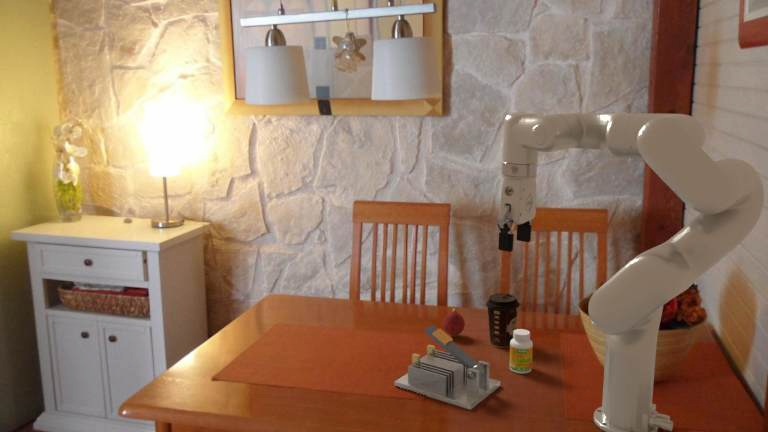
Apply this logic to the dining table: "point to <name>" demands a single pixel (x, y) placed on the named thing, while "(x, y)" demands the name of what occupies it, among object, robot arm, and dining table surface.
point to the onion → (454, 323)
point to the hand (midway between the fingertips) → (514, 245)
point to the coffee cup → (502, 319)
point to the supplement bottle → (521, 352)
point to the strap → (454, 349)
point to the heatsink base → (447, 379)
